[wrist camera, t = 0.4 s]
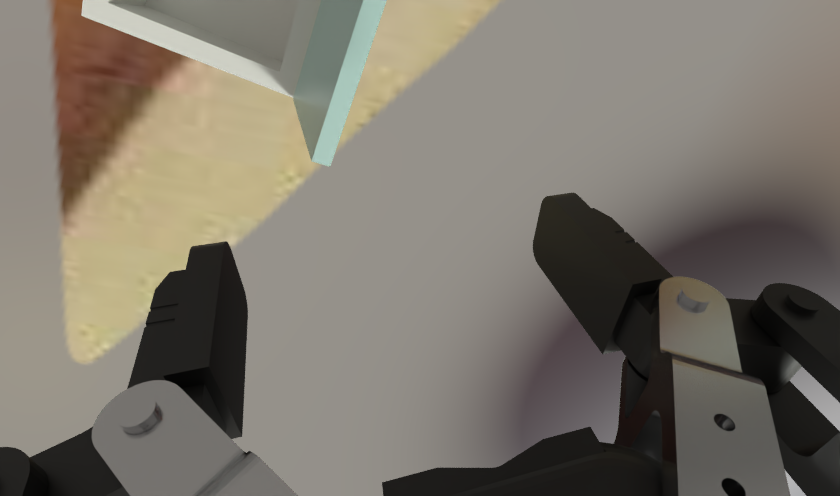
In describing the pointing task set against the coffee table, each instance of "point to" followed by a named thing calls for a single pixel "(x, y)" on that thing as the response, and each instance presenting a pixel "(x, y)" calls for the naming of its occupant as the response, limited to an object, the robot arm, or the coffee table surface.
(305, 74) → the lid
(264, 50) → the storage box
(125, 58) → the coffee table surface
